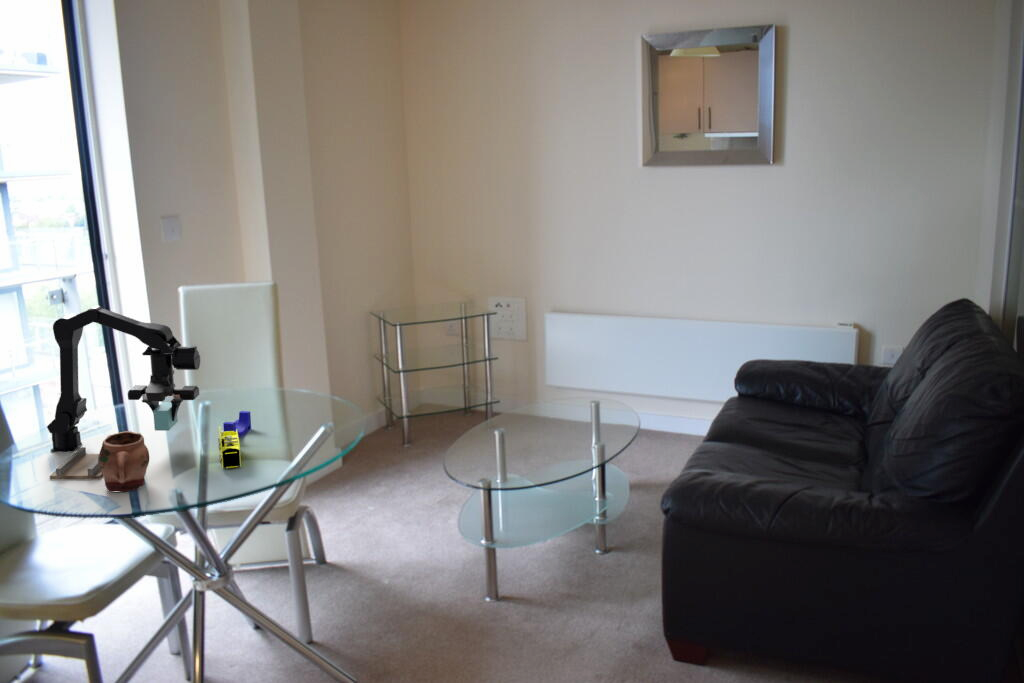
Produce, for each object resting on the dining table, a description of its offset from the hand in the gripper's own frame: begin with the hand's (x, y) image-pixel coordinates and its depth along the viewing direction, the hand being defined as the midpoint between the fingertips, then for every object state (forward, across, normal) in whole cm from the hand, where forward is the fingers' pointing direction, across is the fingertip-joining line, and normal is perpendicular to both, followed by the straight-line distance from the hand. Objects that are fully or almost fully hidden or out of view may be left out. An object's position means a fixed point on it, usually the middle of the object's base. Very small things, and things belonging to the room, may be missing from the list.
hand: (166, 420), depth 254 cm
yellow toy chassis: (+9, +20, -9) cm, 24 cm away
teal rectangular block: (+2, 0, 0) cm, 2 cm away
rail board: (+9, -17, -15) cm, 24 cm away
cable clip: (+9, +17, +12) cm, 22 cm away
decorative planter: (+9, -2, -29) cm, 30 cm away
